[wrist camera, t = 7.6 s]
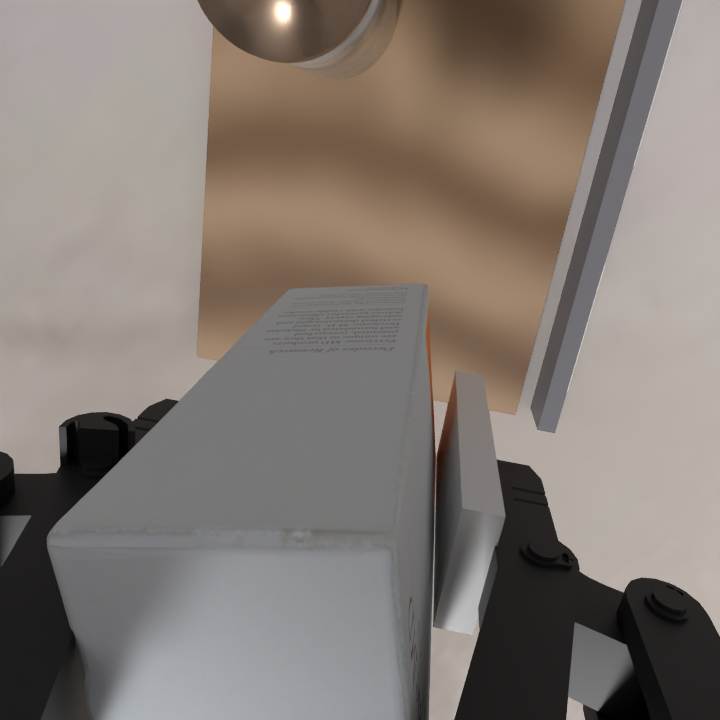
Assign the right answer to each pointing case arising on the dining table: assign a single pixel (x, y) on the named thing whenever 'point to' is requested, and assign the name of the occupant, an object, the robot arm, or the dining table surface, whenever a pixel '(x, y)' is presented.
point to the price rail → (604, 203)
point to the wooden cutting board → (409, 176)
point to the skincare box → (270, 528)
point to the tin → (308, 32)
